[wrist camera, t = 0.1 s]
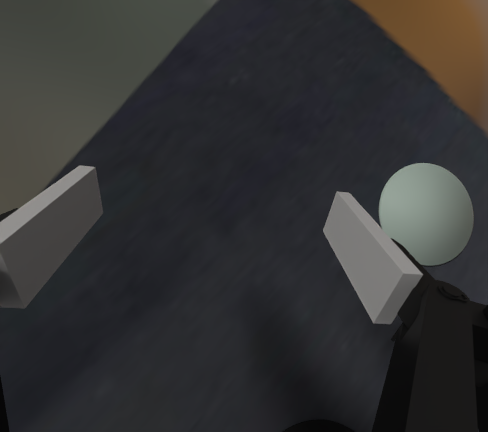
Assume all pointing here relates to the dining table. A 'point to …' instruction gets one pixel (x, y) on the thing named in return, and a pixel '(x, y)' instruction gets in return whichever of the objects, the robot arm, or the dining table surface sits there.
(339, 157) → the dining table surface
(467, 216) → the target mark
